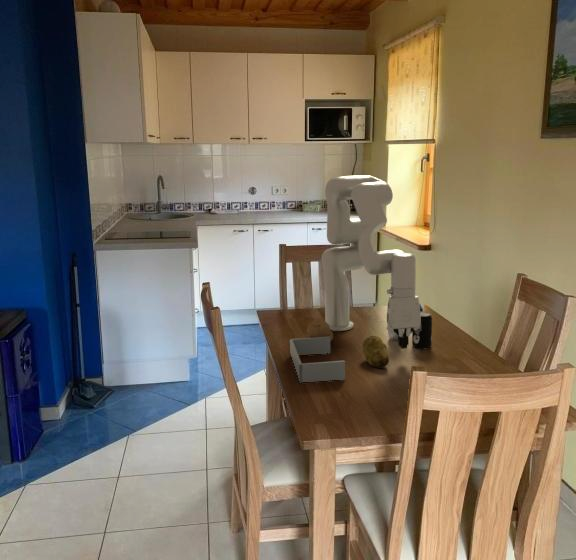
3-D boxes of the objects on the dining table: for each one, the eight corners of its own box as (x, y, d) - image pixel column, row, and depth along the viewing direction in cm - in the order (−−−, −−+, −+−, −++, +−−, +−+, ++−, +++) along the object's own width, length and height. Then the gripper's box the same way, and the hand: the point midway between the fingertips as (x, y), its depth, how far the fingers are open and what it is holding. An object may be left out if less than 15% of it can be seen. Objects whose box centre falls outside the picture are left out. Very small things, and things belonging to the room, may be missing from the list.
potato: (362, 370, 176) (362, 346, 174) (362, 355, 189) (362, 333, 187) (389, 370, 175) (389, 346, 173) (387, 356, 188) (387, 333, 186)
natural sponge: (302, 343, 202) (302, 317, 200) (325, 340, 205) (325, 314, 203) (312, 351, 194) (311, 324, 192) (335, 348, 197) (335, 320, 195)
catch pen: (290, 355, 191) (289, 339, 189) (330, 353, 192) (329, 336, 191) (299, 383, 167) (299, 364, 166) (345, 380, 169) (345, 361, 168)
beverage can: (431, 350, 192) (432, 316, 189) (412, 349, 193) (412, 316, 191) (431, 343, 198) (431, 311, 196) (412, 343, 200) (412, 310, 197)
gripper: (383, 296, 173) (384, 352, 177) (430, 293, 175) (429, 349, 178) (377, 291, 181) (377, 345, 184) (421, 288, 182) (421, 342, 186)
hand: (403, 347), depth 181 cm, fingers closed
